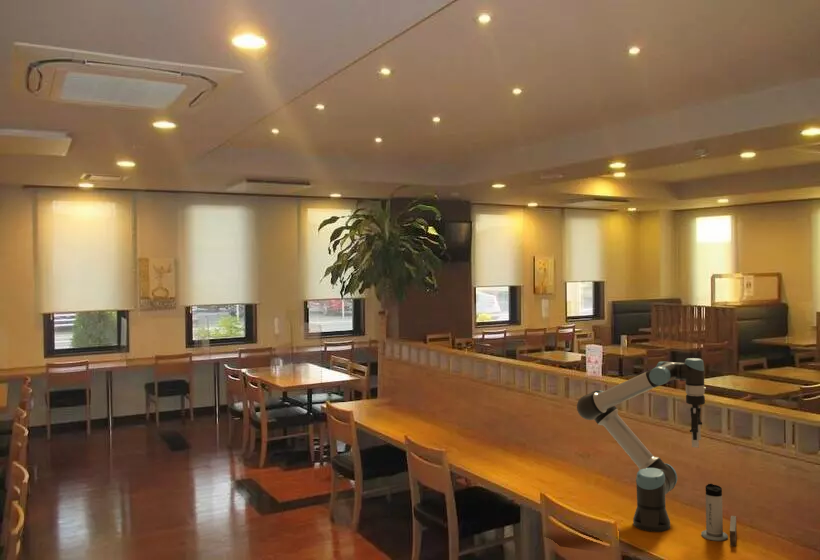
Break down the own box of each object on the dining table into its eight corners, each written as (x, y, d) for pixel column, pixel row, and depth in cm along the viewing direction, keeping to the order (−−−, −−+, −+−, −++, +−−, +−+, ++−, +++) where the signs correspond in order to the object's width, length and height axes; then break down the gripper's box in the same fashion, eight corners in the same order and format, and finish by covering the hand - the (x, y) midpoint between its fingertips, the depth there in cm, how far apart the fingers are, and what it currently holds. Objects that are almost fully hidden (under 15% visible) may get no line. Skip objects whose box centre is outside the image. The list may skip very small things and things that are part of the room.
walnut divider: (730, 545, 275) (729, 530, 275) (731, 529, 291) (730, 515, 291) (735, 546, 274) (735, 531, 274) (736, 530, 290) (736, 516, 290)
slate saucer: (700, 538, 282) (700, 537, 282) (702, 530, 291) (702, 528, 291) (727, 542, 278) (727, 540, 278) (728, 533, 287) (728, 531, 287)
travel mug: (718, 530, 288) (717, 483, 288) (725, 536, 282) (724, 488, 281) (703, 531, 288) (702, 483, 288) (710, 537, 282) (709, 488, 281)
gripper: (702, 400, 286) (704, 451, 286) (706, 389, 308) (707, 437, 309) (683, 399, 289) (684, 449, 289) (688, 389, 311) (689, 436, 312)
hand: (696, 443), depth 299 cm, fingers open, 13 cm apart
